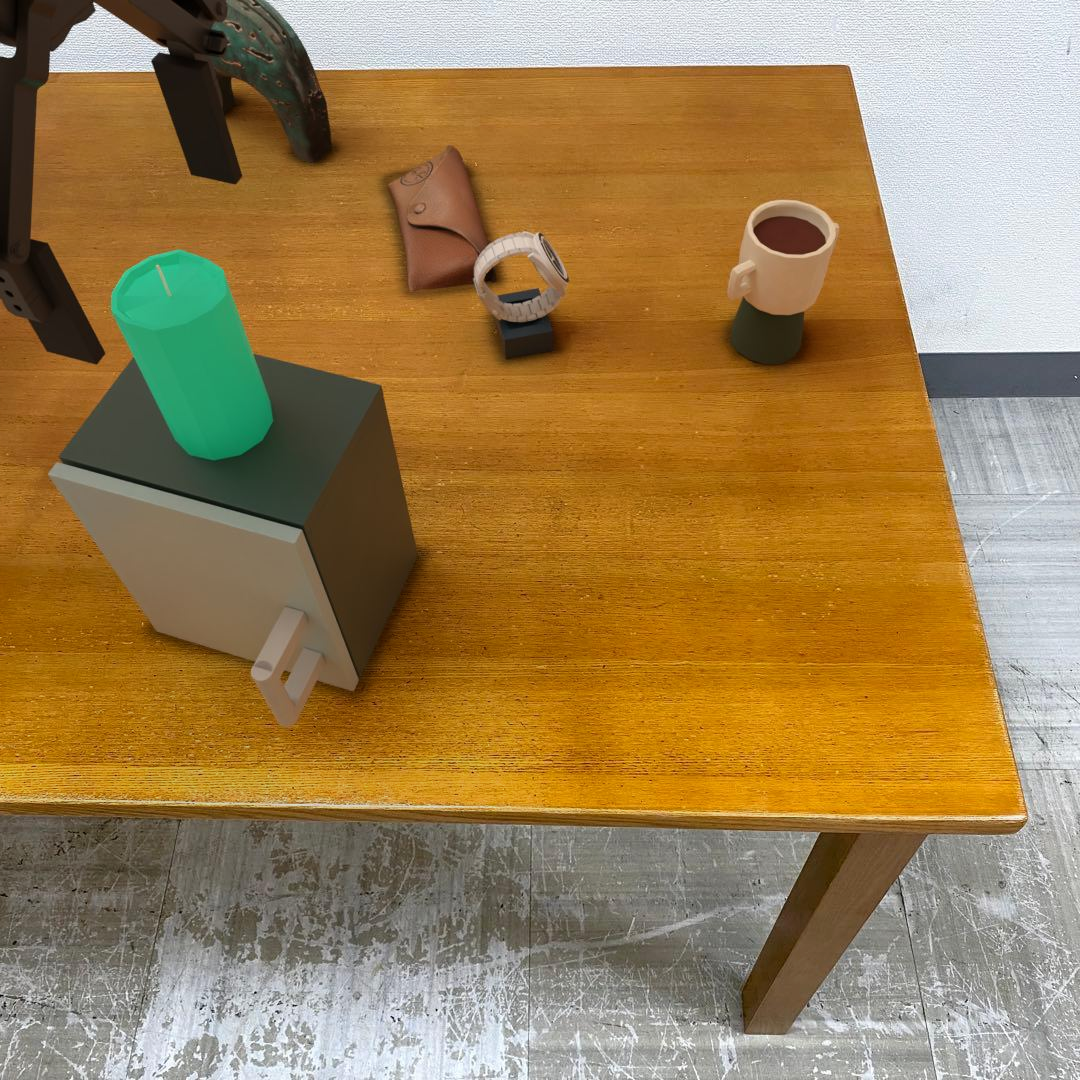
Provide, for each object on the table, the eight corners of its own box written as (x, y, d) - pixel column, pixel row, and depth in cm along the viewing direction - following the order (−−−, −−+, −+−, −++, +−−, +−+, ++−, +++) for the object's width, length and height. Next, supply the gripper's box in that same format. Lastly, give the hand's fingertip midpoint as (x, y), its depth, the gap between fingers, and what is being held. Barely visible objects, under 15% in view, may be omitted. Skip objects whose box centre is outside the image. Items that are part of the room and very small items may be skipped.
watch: (574, 352, 91) (576, 255, 82) (486, 368, 90) (478, 272, 81) (559, 309, 94) (559, 211, 85) (474, 324, 93) (465, 227, 84)
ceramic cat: (176, 115, 112) (109, -78, 95) (219, 86, 115) (161, -106, 98) (309, 179, 105) (263, -16, 89) (351, 147, 108) (313, -47, 91)
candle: (229, 475, 59) (161, 323, 49) (151, 435, 61) (70, 281, 51) (293, 407, 62) (242, 250, 52) (218, 370, 63) (154, 212, 53)
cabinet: (361, 681, 73) (303, 525, 57) (167, 621, 76) (57, 456, 60) (419, 559, 79) (381, 385, 62) (236, 508, 82) (154, 328, 65)
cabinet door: (324, 760, 70) (251, 621, 54) (121, 695, 73) (-7, 545, 57) (360, 682, 73) (302, 529, 57) (165, 623, 76) (56, 461, 60)
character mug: (786, 298, 94) (815, 179, 84) (837, 345, 91) (874, 228, 80) (691, 343, 91) (708, 226, 81) (739, 394, 88) (764, 279, 77)
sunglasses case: (380, 179, 104) (406, 124, 100) (441, 199, 108) (469, 147, 103) (409, 299, 94) (439, 244, 90) (475, 316, 98) (507, 264, 94)
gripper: (-244, -42, 26) (78, 464, 44) (222, -365, 39) (325, 126, 57) (-469, -85, 27) (-68, 422, 45) (54, -383, 40) (206, 102, 58)
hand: (151, 258), depth 51 cm, fingers open, 13 cm apart
